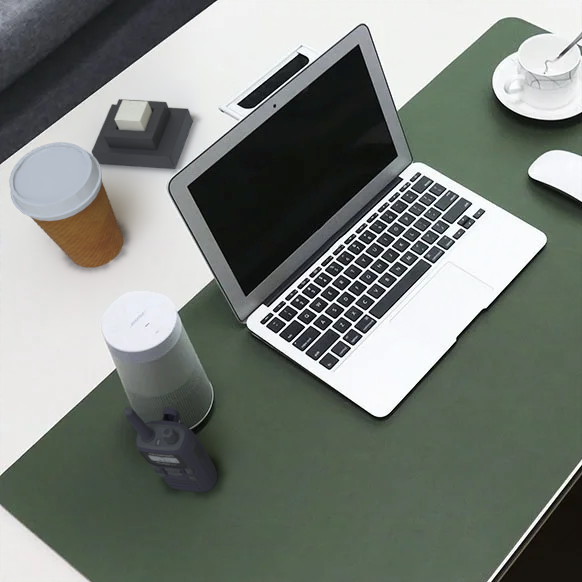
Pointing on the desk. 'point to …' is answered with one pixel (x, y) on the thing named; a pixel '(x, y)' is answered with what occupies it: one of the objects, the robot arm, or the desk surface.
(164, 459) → the two-way radio
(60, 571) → the desk surface
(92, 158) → the disposable coffee cup
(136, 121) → the key
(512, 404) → the desk surface
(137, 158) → the key block
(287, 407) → the desk surface
